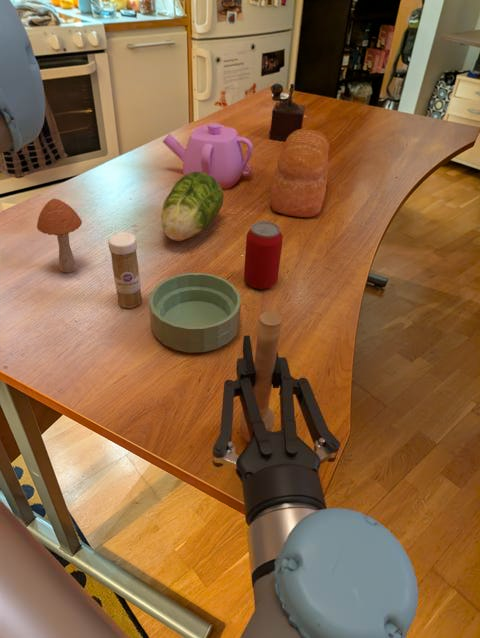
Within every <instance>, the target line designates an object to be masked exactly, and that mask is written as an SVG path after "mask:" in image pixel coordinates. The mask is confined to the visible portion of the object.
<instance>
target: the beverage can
mask: <svg viewBox="0 0 480 638" xmlns="http://www.w3.org/2000/svg"><path fill="white" fill-rule="evenodd" d="M283 236H284V235H283V234H282V231H281V228H280V226H279V225H278V224H276V223H275V222H272V221H265V220H264V221H263V220H261V221H257V222H254V223H252V225H251V226H250V229H249V230H248V231H247V233H246V241H245V253H244V269H243V280H244V282H245V283H246V284H247V285H248V286H250V287H253V288H255V289H259V290H263V289H269V288H272V287H274V286H275V285H276V284H277V283H278V277H279V273H280V272H279V271H280V266H281V265H280V264H281V258H282V257H281V256H282V249H283V248H282V247H283V241H284V240H283V239H284V237H283Z"/></svg>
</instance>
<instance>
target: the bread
mask: <svg viewBox="0 0 480 638" xmlns="http://www.w3.org/2000/svg"><path fill="white" fill-rule="evenodd" d="M281 147H282V148H281V152H280V156H279V159H278V161H277V167H276V169H275V171H274V174H273V178H272V182H271V185H270V192H269V193H270V199H269V200H270V207H271V209H272V210H273V211H274V212H276V213H277V214H278V213H279V214H281V215H284V216H291V217H292V216H293V217H296V218H297V217H298V218H310V217H311V218H312V217H315V216H316V215H317V214H319V213H320V212H321V210H322V207H323V204H324V200H325V196H326V193H327V192H326V191H327V183H328V174H329V168H330V162H329V151H330V143H329V140H328V139H327V136H326V135H325V134H324V133H323V132H321V131H319V130H316V129H308V128H302V129H299V130H296V131H294V132H293V133H291V134H290V135H289V136H288V138H287V139H286V141H284V143H283V144H282V146H281Z"/></svg>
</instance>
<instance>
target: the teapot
mask: <svg viewBox="0 0 480 638" xmlns="http://www.w3.org/2000/svg"><path fill="white" fill-rule="evenodd" d="M162 143H163V144H164V145H165V146H166V147H167V148H168V149H169V150H170V151H171V152H172V153H173V154H175V155H176V156H177V158H179V159H180V160H181V161H182V173H183V176H185V175H187V174H189V173H193V172H202V173H206V174H208V175H210V176H211V177H213V178H214V179H215V180H216V181H217V182H218V184H219V185H220V186H221V189H222V190H224V189H225V190H227V189H230V188H231V189H232V187H234V186H235V185H236V184H237V183H238V181H240V179H241V178H242V175H243V176H249V175H250V174H252V172H253V167H252V165H251V164H250V163H248V162H249V161H250V158H251V156H252V154H253V151H254V146H253V143H252V141H251V140H250V139H248V138H247V137H246V136H239V134H238V131H237V130H236V129H235V128H234V127H229V126H224V125H223V124H221V123H219V122H209V123H207V124H201V125H199V126H197V127H195V128H194V129H193V130H192V131H191V133H190V135H189V137H188V141H187V143H186V146H185V147H184V146H183V145H182V144H181V143H180V142H179V141H178V140H177V139H176V138H175V137H174V136H173V135H172V134H171V133H168V135H167V136H166V137H165V138H164V139H163V140H162ZM242 143H243V144H245V145H246V146H247V153H246V156H245V157H244V154H243V153H244V152H243V148H242ZM246 168H247V169H248V170H246Z"/></svg>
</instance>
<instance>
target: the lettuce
mask: <svg viewBox="0 0 480 638" xmlns="http://www.w3.org/2000/svg"><path fill="white" fill-rule="evenodd" d="M224 196H225V195H224V192H223V189H221V186H220V185H219V184H218V182H217V181H216V180H215V179H214V178H213V177H211V176H210V175H208V174H206V173H202V172H193V173H189V174H187V175H185V176H184V175H183V176H182V177H180V179H178V180H177V181H176V182H175V184H174V185H173V187H172V188H171V191H170V193H169V194H168V195H167V197H166V198H165V200H164V202H163V205H162V208H161V209H162V210H161V216H160V217H161V226H162V231H163V232H164V234H165V235H166V237H168V238H169V239H171V240H173V241H176V242H177V241H179V242H181V241H182V242H183V241H185V240H187V239H191V238H193V237H195V236H198V235H199V234H200V233H201V232H202V231H203V230H204V229H205V228H206V227H208V226H209V225H210V224H211V223H212V222H213V221H214V219H215V217H216V216H217V215H216V214H217V213H219V212H220V210H221V208H222V206H224Z"/></svg>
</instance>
